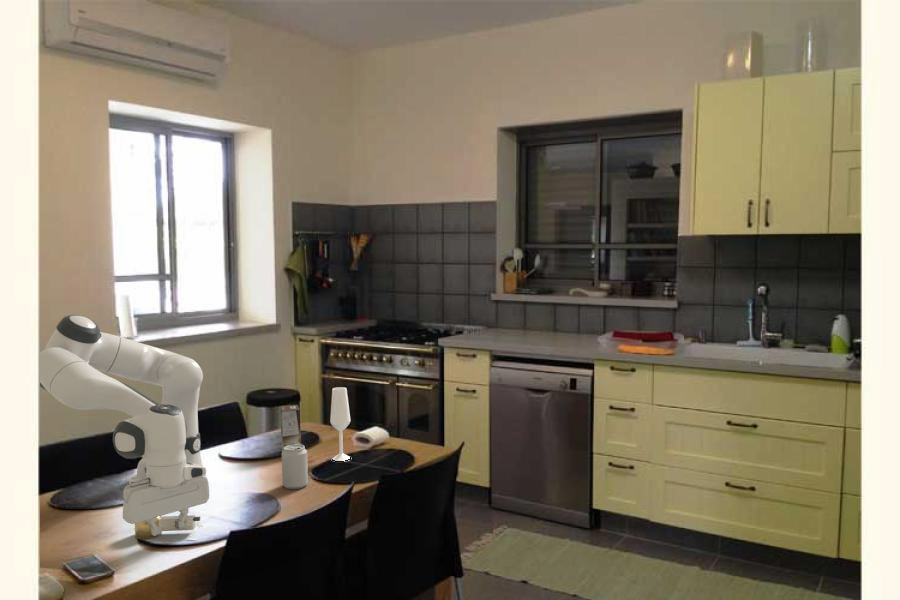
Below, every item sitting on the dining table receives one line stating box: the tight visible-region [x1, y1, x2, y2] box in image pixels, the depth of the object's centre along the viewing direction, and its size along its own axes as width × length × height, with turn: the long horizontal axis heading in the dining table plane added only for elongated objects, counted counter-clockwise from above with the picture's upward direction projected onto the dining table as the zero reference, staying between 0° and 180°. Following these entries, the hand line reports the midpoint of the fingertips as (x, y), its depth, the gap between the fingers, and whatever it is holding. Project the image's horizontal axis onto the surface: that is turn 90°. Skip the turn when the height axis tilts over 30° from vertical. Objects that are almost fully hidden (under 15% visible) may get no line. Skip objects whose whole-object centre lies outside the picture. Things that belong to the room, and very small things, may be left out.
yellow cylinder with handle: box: [134, 514, 201, 540], centre depth 169 cm, size 15×6×5 cm, turn 93°
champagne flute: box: [329, 386, 351, 462], centre depth 233 cm, size 7×7×24 cm
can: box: [281, 444, 309, 490], centre depth 207 cm, size 8×8×12 cm
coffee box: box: [279, 404, 302, 453], centre depth 241 cm, size 9×6×16 cm
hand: (168, 531), depth 165 cm, fingers open, 4 cm apart
